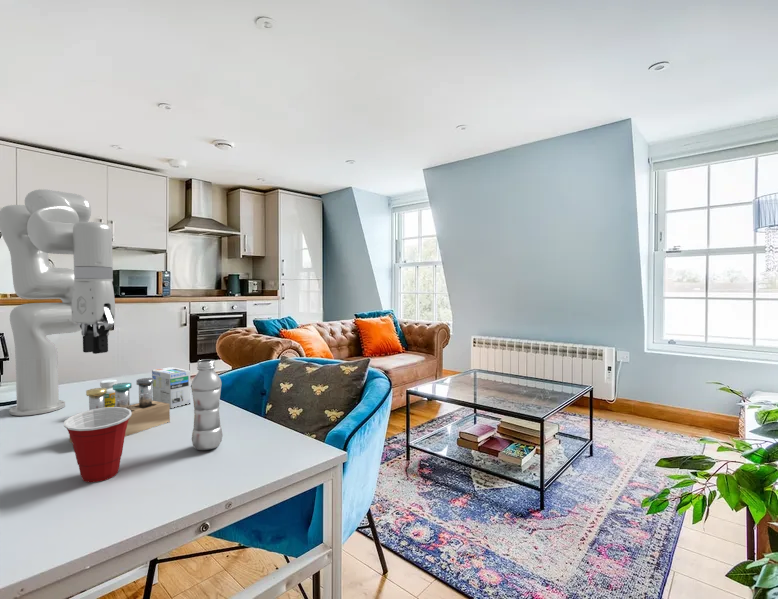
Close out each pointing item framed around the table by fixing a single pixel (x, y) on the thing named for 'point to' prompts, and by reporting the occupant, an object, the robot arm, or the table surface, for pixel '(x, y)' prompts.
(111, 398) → the supplement bottle
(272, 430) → the table surface
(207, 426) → the plastic bottle
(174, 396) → the light bulb box
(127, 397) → the plug teal
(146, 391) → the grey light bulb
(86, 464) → the plastic cup
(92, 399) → the plug brass
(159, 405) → the oak block
